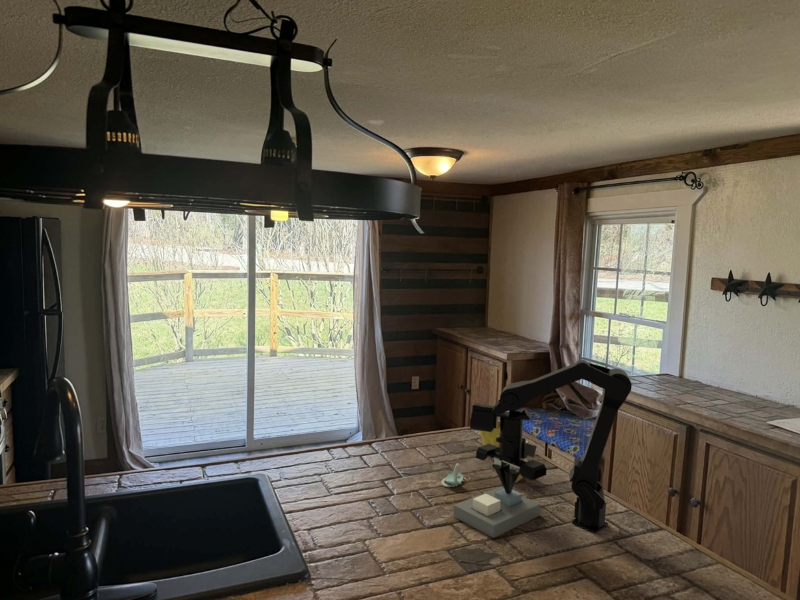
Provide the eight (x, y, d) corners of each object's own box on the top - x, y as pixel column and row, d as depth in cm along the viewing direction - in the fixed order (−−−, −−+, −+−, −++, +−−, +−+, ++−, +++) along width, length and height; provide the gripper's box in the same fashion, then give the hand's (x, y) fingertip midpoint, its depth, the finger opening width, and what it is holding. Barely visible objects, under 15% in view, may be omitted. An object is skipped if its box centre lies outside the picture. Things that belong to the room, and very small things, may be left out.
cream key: (500, 510, 136) (500, 500, 136) (487, 516, 133) (487, 505, 133) (485, 503, 140) (485, 493, 140) (472, 508, 137) (472, 498, 137)
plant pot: (491, 461, 176) (492, 431, 175) (472, 450, 185) (473, 422, 184) (516, 455, 181) (517, 426, 180) (496, 445, 190) (497, 418, 189)
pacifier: (439, 488, 155) (460, 490, 154) (439, 467, 155) (460, 468, 153) (443, 478, 162) (464, 480, 161) (443, 457, 162) (464, 459, 160)
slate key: (521, 503, 142) (521, 493, 141) (509, 508, 139) (509, 498, 138) (506, 496, 145) (506, 487, 145) (494, 501, 142) (495, 492, 142)
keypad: (539, 515, 140) (540, 504, 140) (493, 537, 129) (493, 525, 128) (500, 497, 150) (500, 486, 150) (453, 516, 139) (453, 505, 138)
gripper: (560, 437, 138) (557, 497, 140) (502, 419, 152) (500, 473, 154) (533, 447, 131) (531, 510, 133) (475, 426, 145) (473, 483, 147)
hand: (508, 493), depth 142 cm, fingers closed, pressing on slate key
